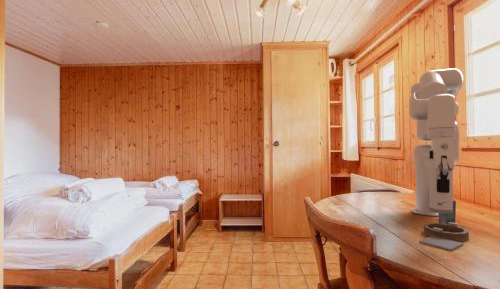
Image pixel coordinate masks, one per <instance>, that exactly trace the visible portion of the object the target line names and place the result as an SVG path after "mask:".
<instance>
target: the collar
mask: <svg viewBox="0 0 500 289" xmlns="http://www.w3.org/2000/svg"><path fill="white" fill-rule="evenodd" d="M458 224H459V223H457V222H455V223H452V222H449V223H448V224H440V223H439V222H438V223H437V222H434V223H431V222H428V223H426V224H424V226H423V228H424V230H423V232H424V234H425V235H427V236H428V237H431V236H435V237H439V238H443V239H448V240H452V241H456V242H466V241H468V240H470V238H469V234H470V233H469V230H468V229H467V228H464V227H463V226H462V227H461V226H459V225H458ZM445 231H446V232H445ZM467 239H468V240H467Z"/></svg>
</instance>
